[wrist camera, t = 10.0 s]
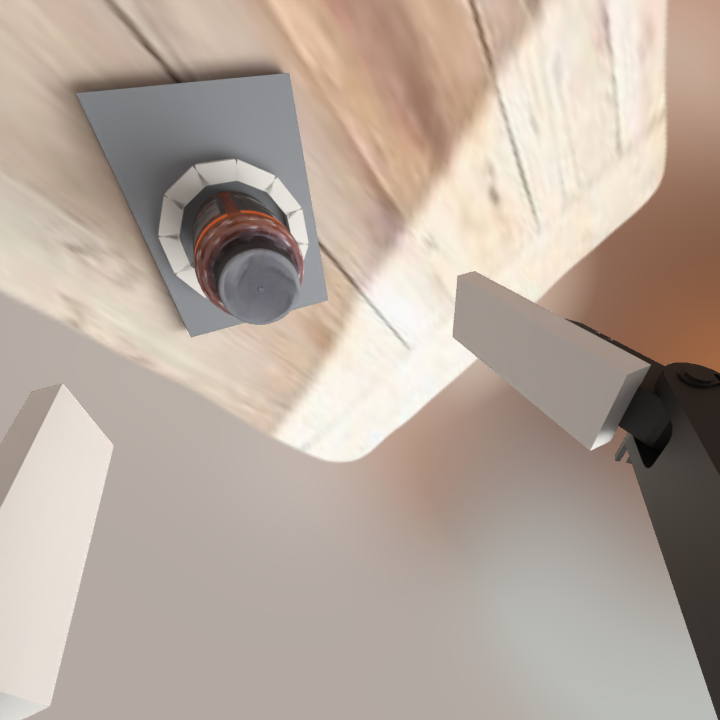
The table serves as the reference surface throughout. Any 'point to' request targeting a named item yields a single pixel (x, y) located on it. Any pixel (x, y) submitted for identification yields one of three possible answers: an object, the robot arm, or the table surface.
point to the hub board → (206, 171)
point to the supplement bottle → (246, 258)
